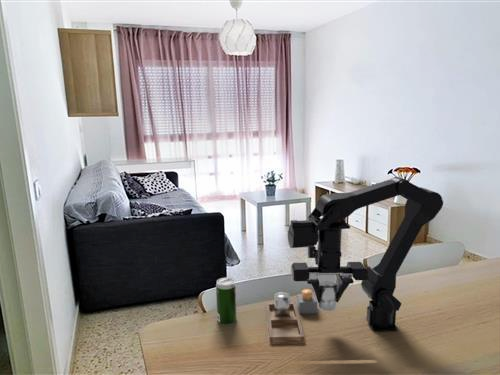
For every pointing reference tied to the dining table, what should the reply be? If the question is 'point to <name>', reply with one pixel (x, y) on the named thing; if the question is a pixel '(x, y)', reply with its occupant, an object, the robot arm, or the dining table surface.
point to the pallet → (284, 326)
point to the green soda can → (226, 301)
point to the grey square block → (306, 304)
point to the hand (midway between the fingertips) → (327, 301)
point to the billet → (328, 295)
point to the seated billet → (282, 304)
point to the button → (307, 294)
